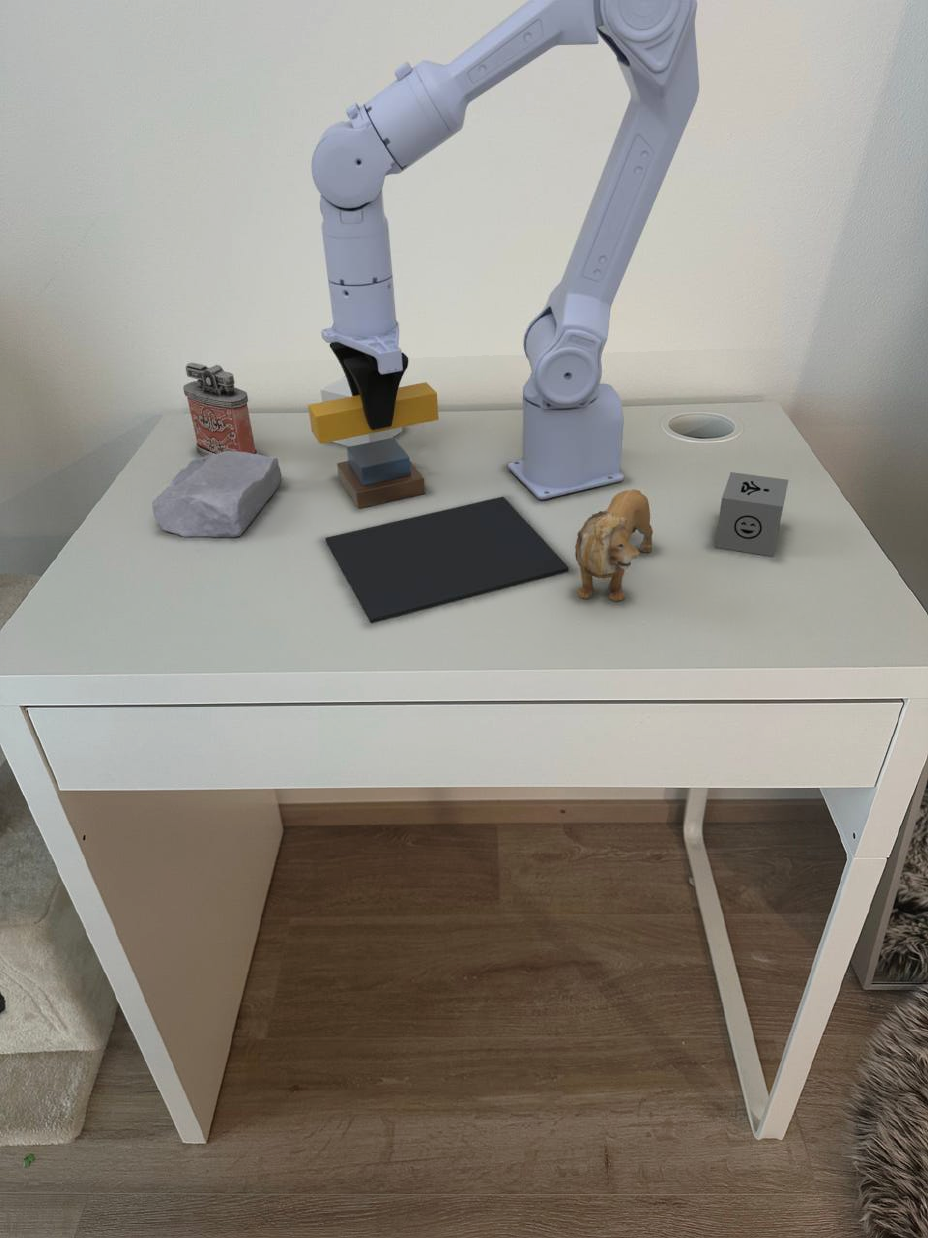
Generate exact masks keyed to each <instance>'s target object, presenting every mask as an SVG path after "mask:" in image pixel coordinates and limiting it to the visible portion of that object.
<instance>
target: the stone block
mask: <svg viewBox="0 0 928 1238" xmlns="http://www.w3.org/2000/svg"><path fill="white" fill-rule="evenodd" d="M279 463H280V462H279V460H278V458H277V457H276V456H272V457H271V456H267V455H263V454H259V453H258V454H251V453H247V452H237V451H234V452H232V451H225V452H221V453H218V454H209V455H207V456H205V457H204V456H199V457H198V458H196V459H193V460H190V462H188V465H187V466H186V467H185V468H182V469H181V470H179V472H178V473H177V474H176V475H175V476H174V477H173V478H172V480H171V482H170V483H169V484H168V487H166V488H165V489H163V491H162V492H161V493H160V494H159V495H158V496H156V497H155V498H154V500H153V501H152V505H151V506H152V507H151V508H152V513H153V517H154V519H155V520H156V521H157V523H158V526H160V528H161V530H163V531H165V532H169V533H172V534H175V535H179V536H181V537H185V538H186V537H189V538H190V537H212V538H226V537H227V538H236V537H240V536H241V535H242V534H243V533H244V532H245V531H246V529H247V528H248V527H249V525H250V524H251V523H252V522H253V521H254V520H255V518H256V517H257V515H259V513H260V512H261V510H262V509H263V508H264V507H265V506H266V504H267V502H268V500H269V499H270V498H271V497H272V496H273V495H274V494H275V493H276V491H277V489H278V487H279V486H280V484H281V481H282V471H281V467H280V464H279Z"/></svg>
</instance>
